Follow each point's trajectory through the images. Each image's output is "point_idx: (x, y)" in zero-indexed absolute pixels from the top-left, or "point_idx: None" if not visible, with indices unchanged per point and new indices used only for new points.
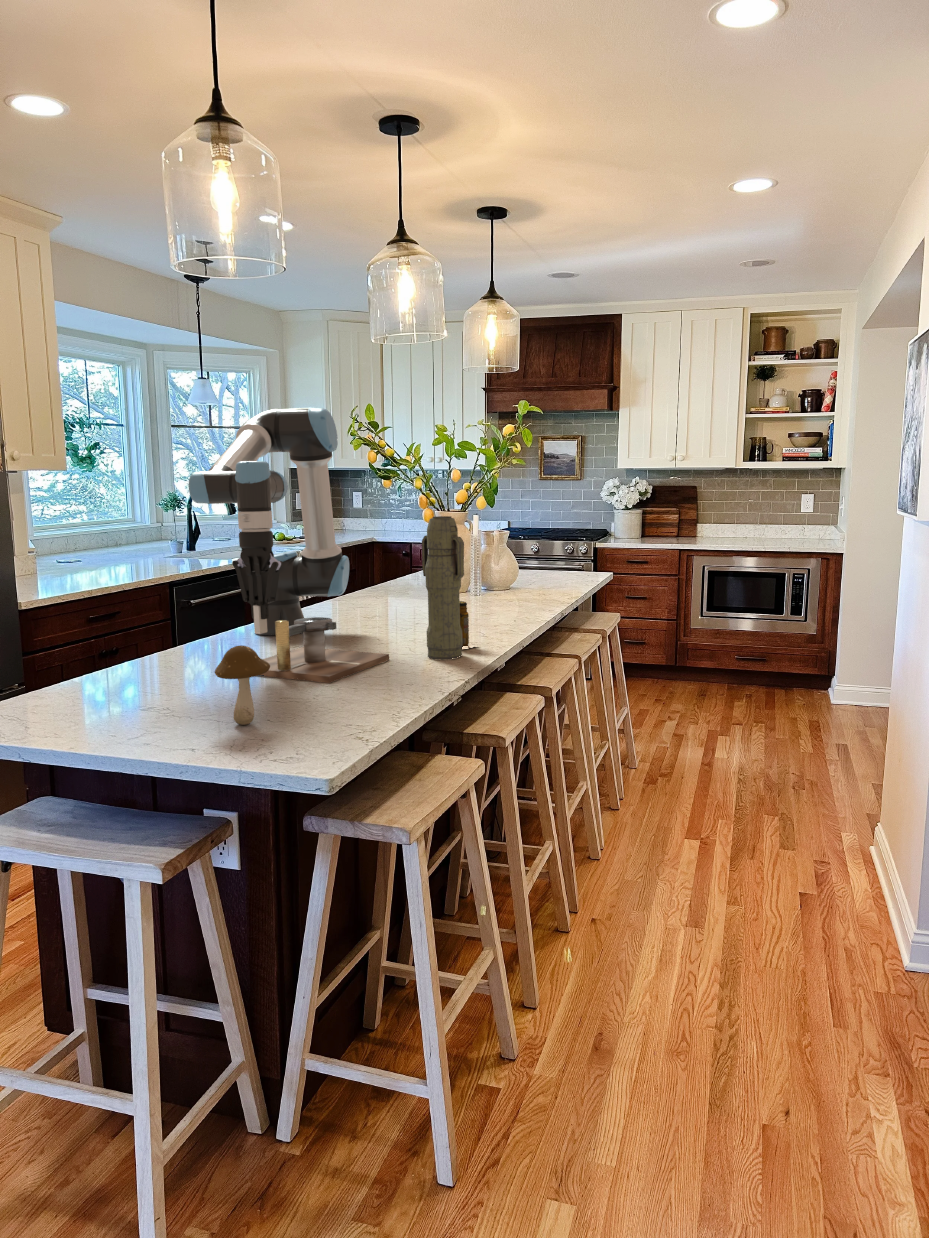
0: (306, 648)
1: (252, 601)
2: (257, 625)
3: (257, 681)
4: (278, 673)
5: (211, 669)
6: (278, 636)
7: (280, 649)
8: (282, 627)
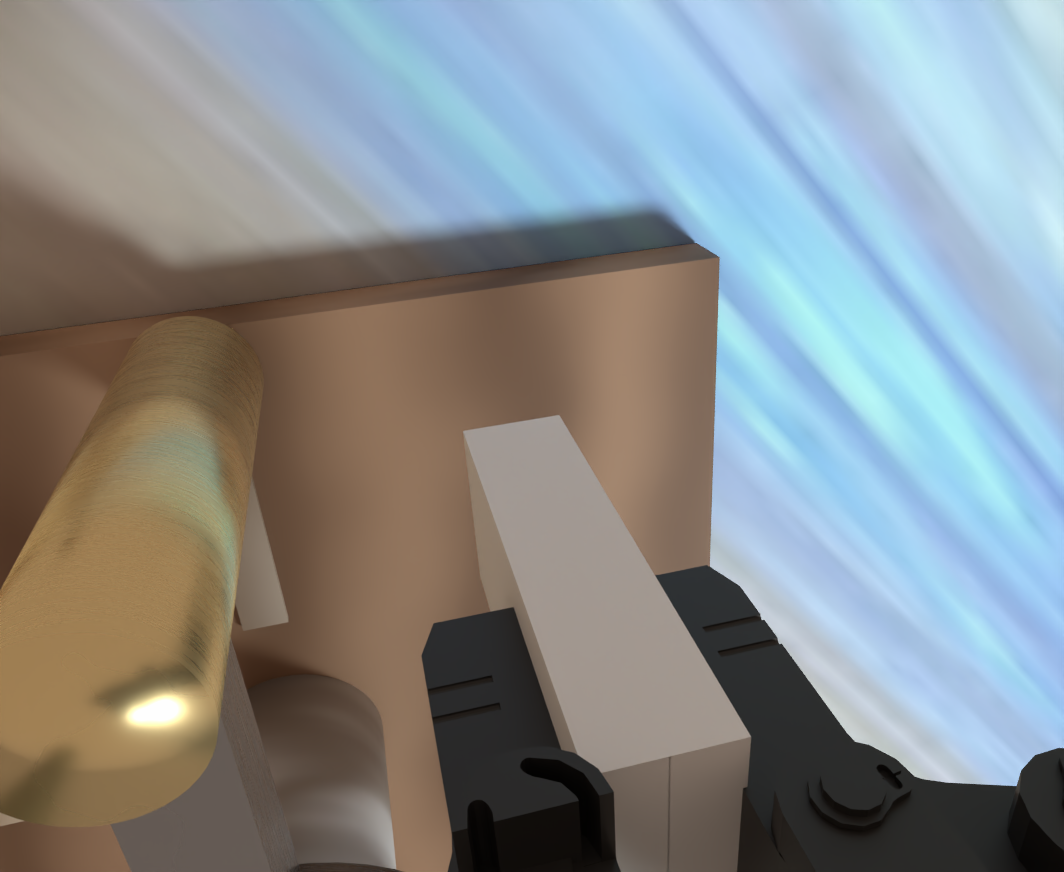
0: (300, 764)
1: (835, 831)
2: (529, 490)
3: (291, 89)
4: (232, 318)
5: (978, 239)
6: (105, 491)
7: (117, 408)
8: None
